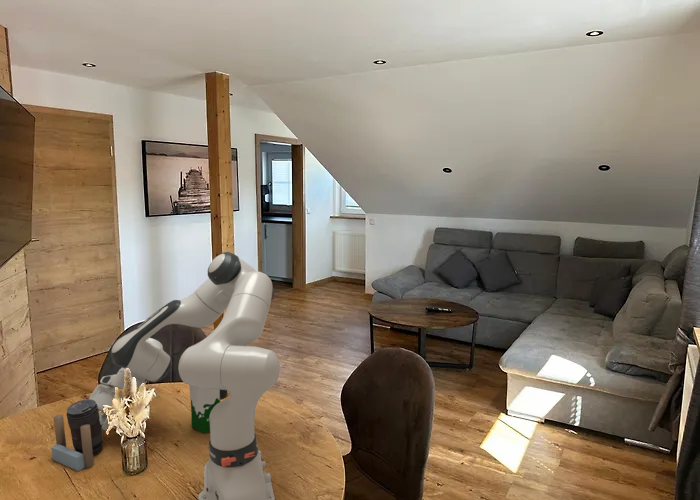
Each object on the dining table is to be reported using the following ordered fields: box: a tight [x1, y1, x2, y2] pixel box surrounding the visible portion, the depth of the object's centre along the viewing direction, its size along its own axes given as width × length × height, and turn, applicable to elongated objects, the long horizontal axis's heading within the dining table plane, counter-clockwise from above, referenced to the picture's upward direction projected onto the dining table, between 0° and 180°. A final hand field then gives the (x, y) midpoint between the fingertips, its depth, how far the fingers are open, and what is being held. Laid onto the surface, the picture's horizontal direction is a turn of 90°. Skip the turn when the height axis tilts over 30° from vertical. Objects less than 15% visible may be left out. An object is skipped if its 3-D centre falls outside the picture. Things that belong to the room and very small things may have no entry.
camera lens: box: [66, 398, 104, 456], centre depth 146 cm, size 8×8×15 cm
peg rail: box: [50, 414, 95, 472], centre depth 142 cm, size 4×15×12 cm, turn 62°
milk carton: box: [188, 385, 221, 434], centre depth 160 cm, size 9×9×20 cm
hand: (100, 428), depth 150 cm, fingers closed, pressing on camera lens
